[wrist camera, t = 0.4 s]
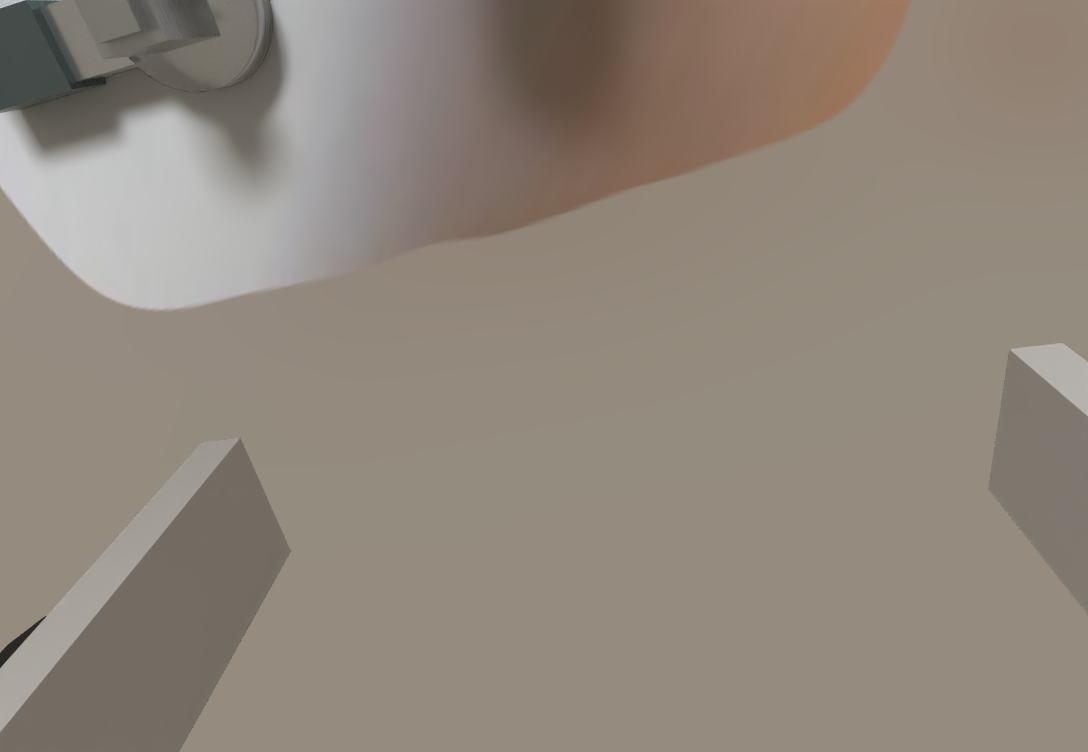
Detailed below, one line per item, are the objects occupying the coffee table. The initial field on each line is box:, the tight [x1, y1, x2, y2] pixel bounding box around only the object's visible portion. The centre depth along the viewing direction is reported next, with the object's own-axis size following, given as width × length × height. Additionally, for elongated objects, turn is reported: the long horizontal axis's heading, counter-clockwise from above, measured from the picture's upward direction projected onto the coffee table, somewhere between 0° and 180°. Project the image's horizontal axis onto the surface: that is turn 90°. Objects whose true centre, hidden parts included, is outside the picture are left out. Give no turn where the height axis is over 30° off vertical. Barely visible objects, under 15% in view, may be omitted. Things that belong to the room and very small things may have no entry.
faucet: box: [0, 0, 272, 113], centre depth 31 cm, size 7×15×7 cm, turn 104°
